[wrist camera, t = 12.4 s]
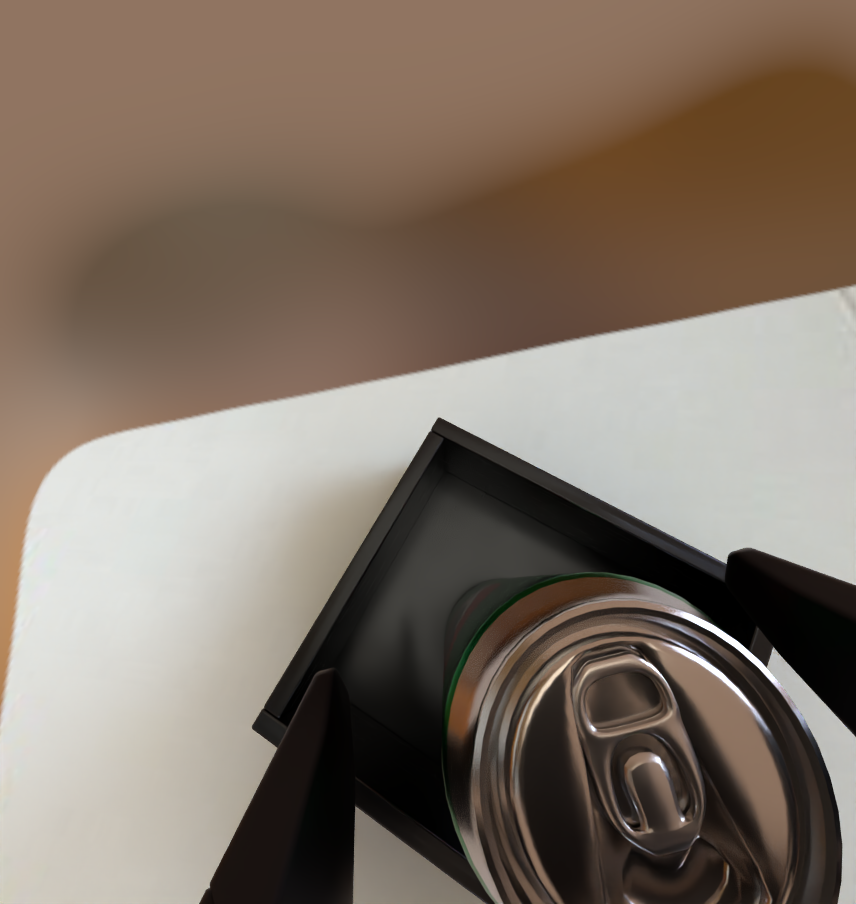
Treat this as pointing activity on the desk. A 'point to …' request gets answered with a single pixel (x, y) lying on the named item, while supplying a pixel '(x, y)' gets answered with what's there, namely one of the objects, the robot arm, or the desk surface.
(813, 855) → the soda can
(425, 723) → the open black square box
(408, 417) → the desk surface
